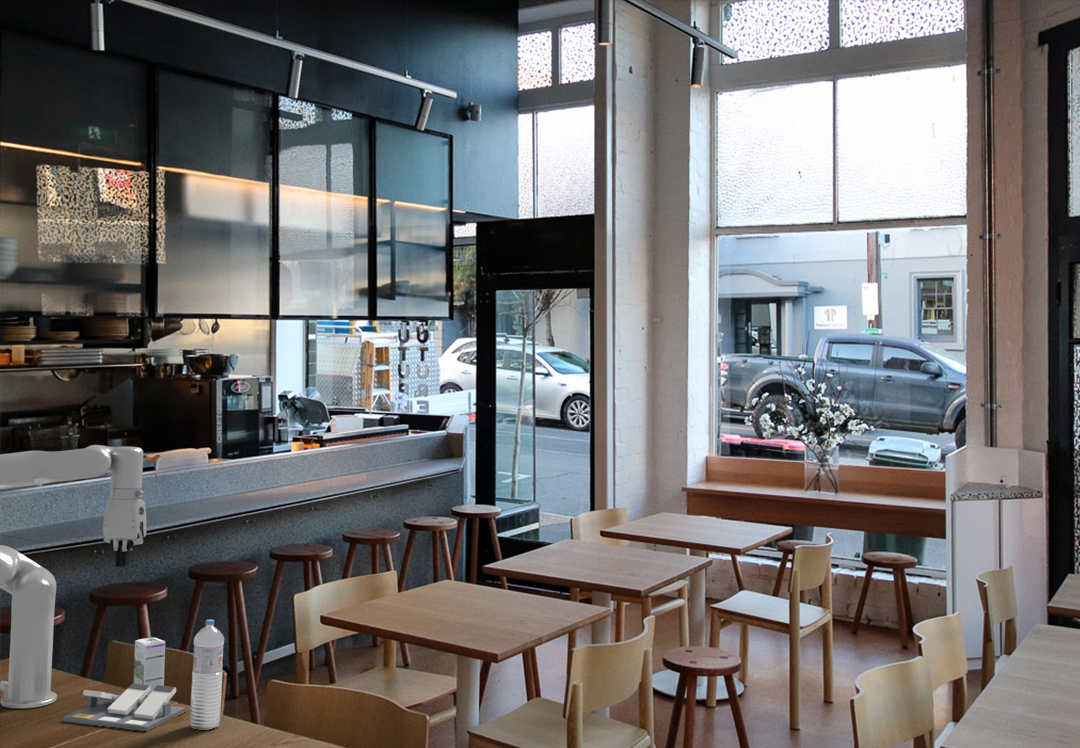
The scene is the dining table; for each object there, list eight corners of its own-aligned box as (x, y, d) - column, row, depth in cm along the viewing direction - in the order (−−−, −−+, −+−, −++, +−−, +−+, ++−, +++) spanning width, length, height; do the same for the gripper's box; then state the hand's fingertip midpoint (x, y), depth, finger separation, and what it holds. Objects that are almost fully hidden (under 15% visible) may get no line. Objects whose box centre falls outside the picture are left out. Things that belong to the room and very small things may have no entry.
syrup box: (164, 697, 265) (166, 640, 265) (141, 701, 260) (144, 643, 261) (153, 692, 269) (156, 636, 269) (131, 696, 264) (134, 639, 265)
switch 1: (82, 694, 246) (83, 688, 247) (106, 699, 255) (107, 693, 256) (101, 697, 245) (102, 690, 246) (124, 702, 254) (126, 696, 255)
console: (64, 721, 242) (65, 704, 243) (107, 702, 258) (108, 686, 258) (146, 732, 237) (147, 714, 238) (186, 712, 253) (186, 696, 253)
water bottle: (210, 732, 239) (215, 624, 240) (183, 729, 240) (189, 621, 241) (225, 723, 246) (230, 618, 246) (199, 721, 247) (204, 616, 248)
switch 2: (134, 717, 244) (133, 712, 243) (157, 689, 252) (156, 684, 252) (154, 719, 242) (152, 714, 242) (176, 691, 251) (175, 686, 251)
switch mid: (108, 712, 245) (106, 707, 245) (132, 687, 254) (132, 682, 254) (127, 715, 244) (126, 709, 243) (151, 690, 253) (150, 684, 253)
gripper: (160, 495, 268) (156, 566, 267) (109, 491, 271) (105, 561, 271) (142, 497, 260) (138, 570, 260) (90, 494, 264) (87, 566, 263)
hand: (122, 566), depth 265 cm, fingers closed
